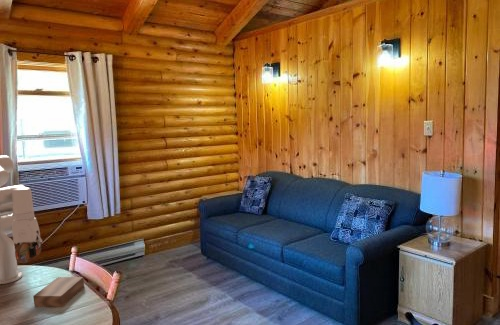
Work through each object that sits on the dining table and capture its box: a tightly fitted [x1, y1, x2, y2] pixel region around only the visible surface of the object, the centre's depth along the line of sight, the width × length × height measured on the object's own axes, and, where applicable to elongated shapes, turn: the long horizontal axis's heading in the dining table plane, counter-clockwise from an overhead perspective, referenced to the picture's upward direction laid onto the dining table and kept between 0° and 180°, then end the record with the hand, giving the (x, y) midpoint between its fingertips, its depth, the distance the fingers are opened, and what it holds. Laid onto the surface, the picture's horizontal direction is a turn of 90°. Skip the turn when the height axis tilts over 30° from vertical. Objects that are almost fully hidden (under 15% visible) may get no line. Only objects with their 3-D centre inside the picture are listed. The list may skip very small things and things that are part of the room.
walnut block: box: [32, 276, 85, 309], centre depth 174 cm, size 12×18×5 cm, turn 174°
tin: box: [15, 240, 43, 264], centre depth 177 cm, size 15×3×8 cm, turn 174°
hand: (29, 256), depth 177 cm, fingers closed on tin, 2 cm apart
